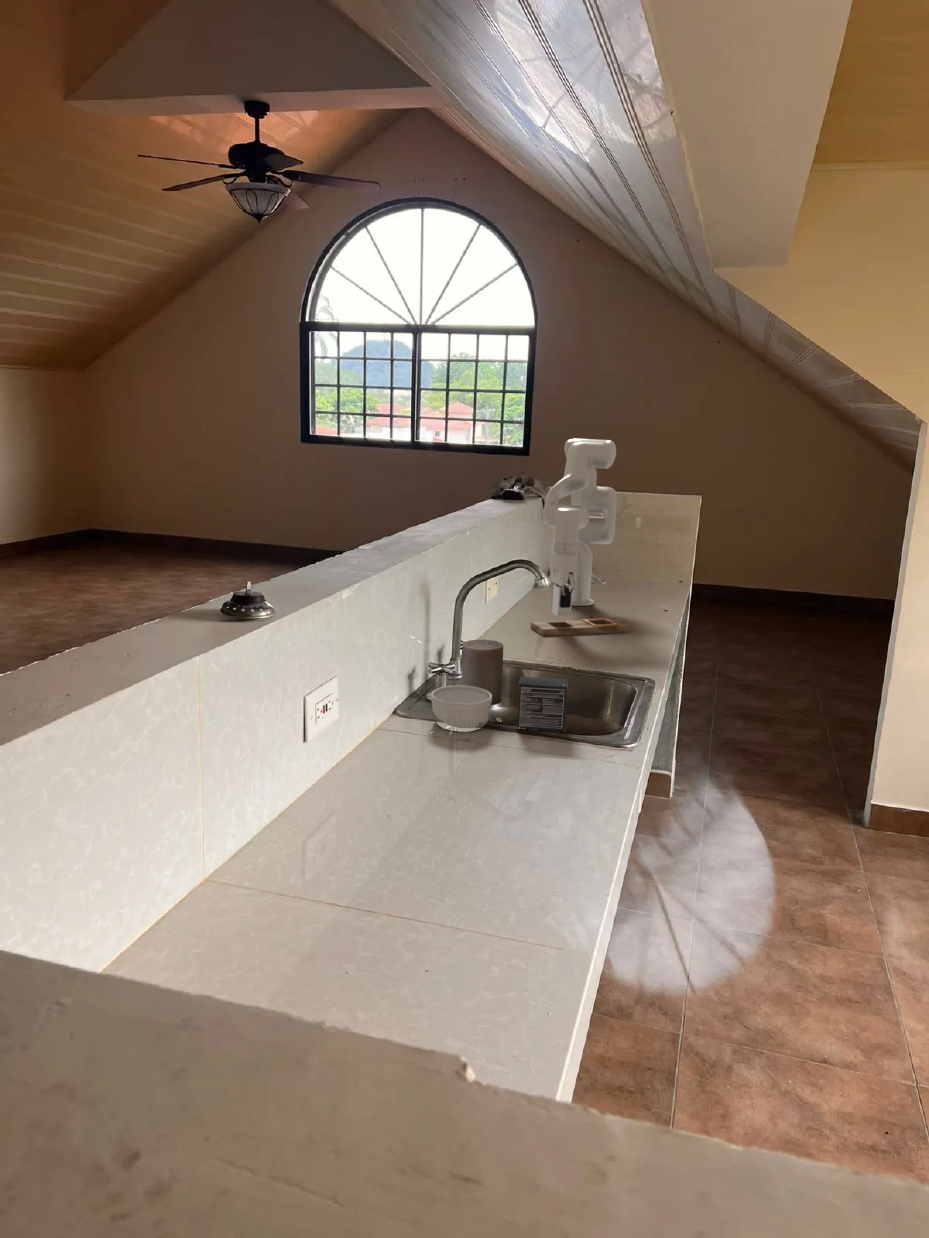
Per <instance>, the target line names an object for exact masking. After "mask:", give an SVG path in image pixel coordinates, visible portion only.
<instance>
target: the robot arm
mask: <svg viewBox="0 0 929 1238" xmlns="http://www.w3.org/2000/svg"><path fill="white" fill-rule="evenodd" d="M616 446H617V445H616V443H615V442H614V441H613V440H611V439H593V438H570V439H568V440H566V441H565V444H564V454H565V457H566V461H565V467H564V473H563V478H561V479H560V480H558V481H557V482H556V483H555V484H554V485H552V487H551V488H550V489H549V491H548V492H547V494H546V497H545V502H544V506H543V511H542V512H543V513H542V514H543V515H542V521H543V523H544V525H545V526H547V527H548V528H554V531H553V532H554V533H553V549H552V557H551V562H550V563H551V564H550V569H549V570H550V572H549V580H550V582H552V584H553V586H554V585H559V586H562V595H561V605H560V607H561V608H570V606H571V595H572V606H574V607H587V606H592V605H594V599H592V598H591V586H592V572H593V569H592V568H593V561H594V560H593V557H594V556H593V552H592V551H591V549H590V547H589V546H588V545H587V544H596V545H598V544H599V545H609V544H611V543H612V542H613V541H614V540H615V534H616V524H617V507H618V505H617V504H618V503H617V502H618V497H617V496H618V495H617V492H616V490H615V489H614V488H612V487H610V486H599V485H597V477H598V472H597V469H604V470H605V469H606V470H607V469H610V468H611V467H612V466H613V464H614V462H615V459H616V456H617V447H616ZM568 496H571V498H570V499H571V500H570V502H571V503H570V504H569V503H568V504H565V503H557V502H558V501H559V500H561V499H563V498H565V497H568ZM590 514H597V515H598V514H599V515H601V516H592V515H590ZM566 584H567V585H566ZM565 587H568V588H567V589H566V590H565ZM572 606H571V607H572Z"/></svg>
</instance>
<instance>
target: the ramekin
mask: <svg viewBox="0 0 929 1238" xmlns="http://www.w3.org/2000/svg"><path fill="white" fill-rule="evenodd" d="M430 701H431V707H432V713H433V712H434V714H435V715H436V716H437V717H438V718H439V719H441V720H442V721H443V722H444V723H447V724H448V725H450V726H454V727H458V728H475V727H476V726H479V722H487V723H488V720H489V716H490V710H491V705H490V704H491V703H492V694H491V693H490V692H488V691H487V690H485V689H482V688H478V687H473V686H464V685H462V684H460V685H459V684H457V685H446V686H441V687H439V688H436V689H434V690H432V691H431V693H430Z"/></svg>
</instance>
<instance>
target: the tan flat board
mask: <svg viewBox="0 0 929 1238" xmlns="http://www.w3.org/2000/svg"><path fill="white" fill-rule="evenodd" d="M530 629H531V630H533V631H535V632H536V633H538V634H539V635H541V636H548V637H549V636H567V635H588V634H593V635H594V634H614V633H616V634H618V633H631V625H630V624H627V623H625V622H624V621H621V620H619V619H617V618H607V617H606V618H584V619H583V618H582V619H578V620H577V619H576V620H574V619H573V620H550V621H548V620H547V621H530Z"/></svg>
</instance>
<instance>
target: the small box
mask: <svg viewBox="0 0 929 1238" xmlns="http://www.w3.org/2000/svg"><path fill="white" fill-rule="evenodd" d="M518 682H519V684H518V701H517V703H518V704H517V705H518V706H517V707H518V708H517V723H516V724H517V726H516V728H517V727H520V728H526V729H537V730H543V731H542V732H551V733H552V732H553V733H565V732H566V722H567V705H568V704H567V703H568V688H569V686H568V685H569V684H568V679H567V678H554V677H553V678H552V677H551V678H550V677H535V676H520V677H519V681H518Z"/></svg>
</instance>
